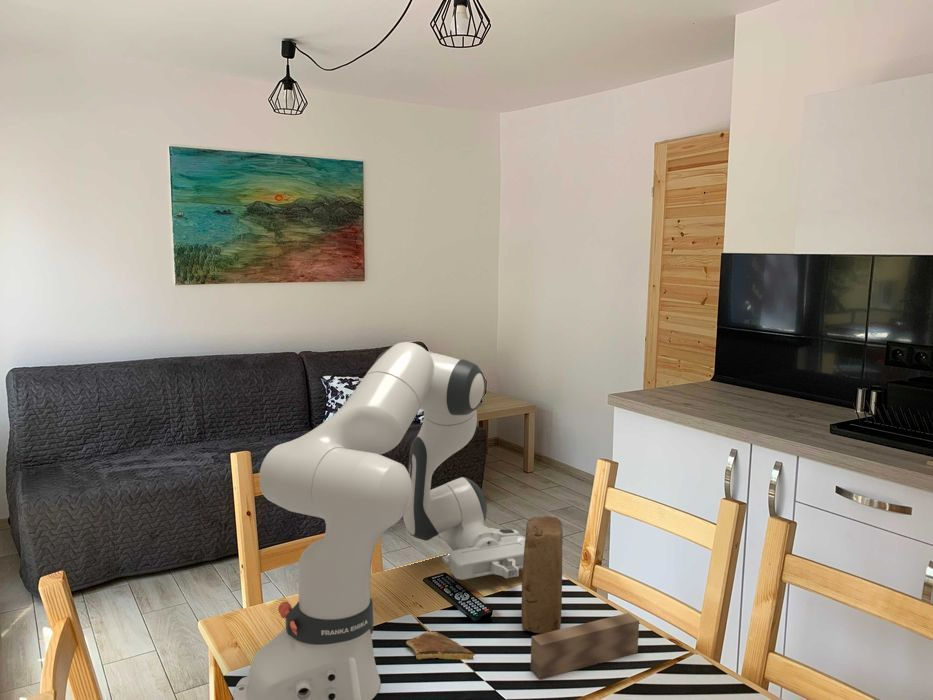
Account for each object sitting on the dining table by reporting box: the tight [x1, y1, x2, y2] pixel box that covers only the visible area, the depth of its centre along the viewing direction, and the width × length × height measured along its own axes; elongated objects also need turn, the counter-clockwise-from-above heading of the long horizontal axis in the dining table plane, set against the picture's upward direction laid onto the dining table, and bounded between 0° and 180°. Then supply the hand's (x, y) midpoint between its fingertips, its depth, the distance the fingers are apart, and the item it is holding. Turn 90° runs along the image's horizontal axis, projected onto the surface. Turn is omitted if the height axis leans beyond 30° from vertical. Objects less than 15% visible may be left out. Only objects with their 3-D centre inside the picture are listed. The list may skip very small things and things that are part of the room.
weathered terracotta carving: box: [521, 515, 564, 634], centre depth 134 cm, size 11×8×20 cm
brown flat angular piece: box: [405, 631, 476, 660], centre depth 123 cm, size 11×8×2 cm
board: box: [530, 612, 640, 680], centre depth 122 cm, size 20×3×6 cm, turn 115°
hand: (512, 573), depth 144 cm, fingers closed
